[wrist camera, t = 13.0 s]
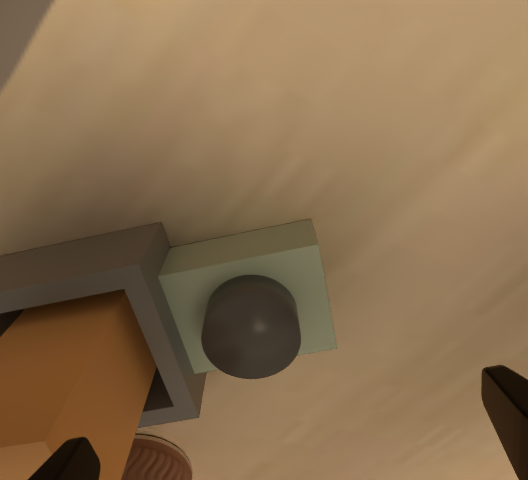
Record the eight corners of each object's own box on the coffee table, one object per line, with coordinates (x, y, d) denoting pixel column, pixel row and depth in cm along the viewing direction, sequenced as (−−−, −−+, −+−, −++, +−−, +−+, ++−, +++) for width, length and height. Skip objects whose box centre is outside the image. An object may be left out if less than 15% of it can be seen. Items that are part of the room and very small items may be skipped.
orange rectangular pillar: (134, 273, 22) (44, 441, 12) (161, 349, 24) (101, 540, 15) (42, 289, 22) (-111, 463, 13) (77, 362, 24) (-33, 556, 15)
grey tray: (305, 191, 21) (319, 232, 16) (332, 334, 25) (348, 400, 20) (-2, 256, 22) (-69, 311, 18) (68, 382, 26) (27, 454, 21)
